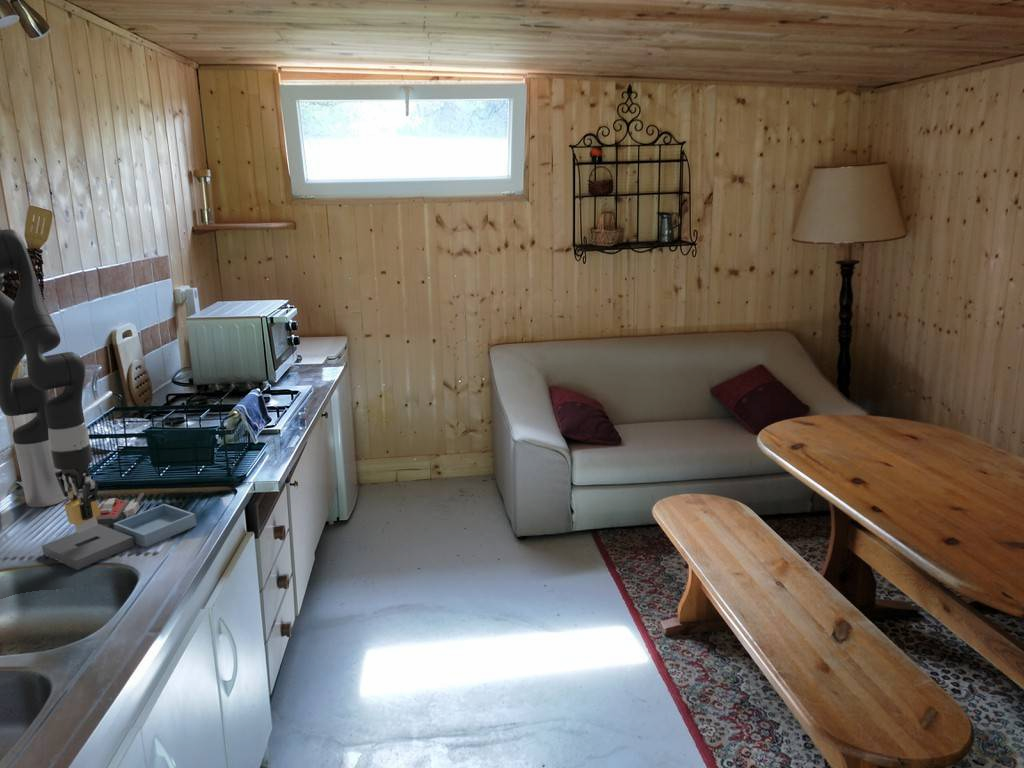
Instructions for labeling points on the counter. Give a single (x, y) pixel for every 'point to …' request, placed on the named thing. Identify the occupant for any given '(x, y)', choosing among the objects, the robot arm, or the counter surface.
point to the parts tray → (156, 524)
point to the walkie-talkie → (117, 511)
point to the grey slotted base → (88, 546)
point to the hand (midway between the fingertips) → (83, 516)
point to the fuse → (76, 518)
